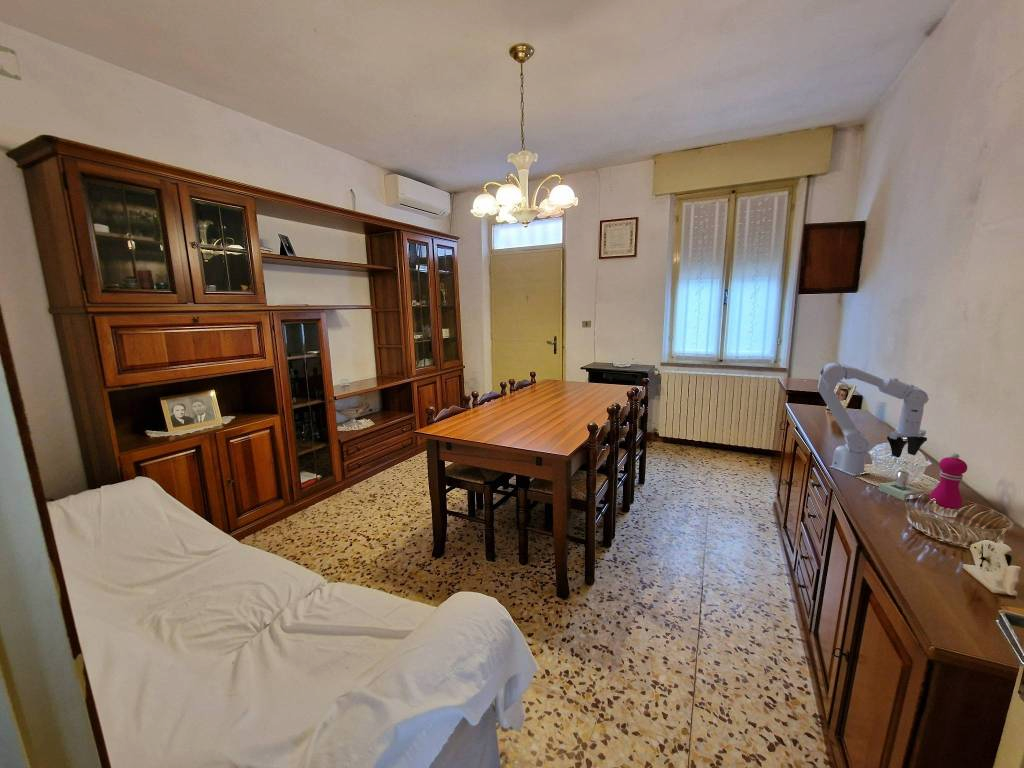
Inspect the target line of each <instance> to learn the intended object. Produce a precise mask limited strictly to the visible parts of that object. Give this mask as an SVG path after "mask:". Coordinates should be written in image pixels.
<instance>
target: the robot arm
mask: <svg viewBox="0 0 1024 768" xmlns="http://www.w3.org/2000/svg"><path fill="white" fill-rule="evenodd" d="M821 368H822V369H820V372H819V379H818V384H817V390H818V392H819V394H820V396H821V398H822V400H823V401H824V403H825V404H826V406H827V408H828V409H829V411H830V412H831V414H832V416H833V418H834V420H835V422H836V423H837V425H838V426H839V428H840V430H841V432H842V433H843V434H844V437H843V438H844V441H845V444H844V445H838V446H837V447H836V448H835V449H834V451H833V457H832V464H831V465H830V468H832V469H835V470H838V471H840V472H843V473H845V474H847V475H849V476H853V477H856V475H857V476H860V475H859V474H860V473H863V472H864V471H865V465H866V459H867V452H868V449H869V447H870V443H869V441H868V440H867V438H866V437H865V435H864V434H863V432H862V431H860V430H859V429H858V428H857V427H856V425H855V423H854V421H852V419H851V417H850V416H849V413H848V412H847V410H846V409H845V407H844V405H843V404H842V402H841V400H840V398H839V397H838V395H837V393H836V391H835V388H836V387H837V385H838V383H839V382H841V381H842V380H843V379H845V380H851V379H855V380H858V381H861V382H864V383H866V384H869V385H872V386H875V387H878V388H877V389H878V390H879V392H881V393H883V394H886V395H888V396H891V397H893V398H897V399H898V400H903V402H902V406H901V410H900V416H899V421H898V427H897V429H896V430H894V431H893V432H889V435H888V436H886V440H887V441H888V443H889V446H890V449H891V451H890V452H891V456H892V457H894V458H901V456H902V452H903V449H904V448H905V446H906V445H907V454H908V455H911V456H916V455H917V453H918V452H919V450H920V448H921V446H923V444H924V443H925V442H926V441H928V437H926V434H927V431H926V430H923V429H921V425H922V420H923V416H924V408H925V404H927V403H928V401H929V395H928V393H927V392H925V391H924V390H923V389H921V388H919V387H918V386H915V385H914V384H911V383H910V384H907V383H905V382H902V381H900V380H899V379H898V378H896V377H893V378H892V377H886V378H881V377H878V376H877V375H876V376H875V375H874V374H872V373H869V372H866V371H863V370H861V369H859V368H857V367H854V366H850V365H847V364H842V363H841V364H840V363H839V362H836V361H830V362H827V363H825V364H824V365H823V366H822V367H821ZM903 438H906V440H904V439H903Z"/></svg>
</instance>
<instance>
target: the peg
mask: <svg viewBox="0 0 1024 768" xmlns="http://www.w3.org/2000/svg"><path fill="white" fill-rule="evenodd" d="M909 475H910V473H909V472H907V471H905V470H898V471H897V473H896V480H895V481H896V484H895V488H897V489H900V490H902V491H904V490H906V487H907V485H908V482H909V481H908V479H909V477H910V476H909Z"/></svg>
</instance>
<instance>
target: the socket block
mask: <svg viewBox="0 0 1024 768" xmlns="http://www.w3.org/2000/svg"><path fill="white" fill-rule="evenodd" d="M895 484H896V480H894V481H889V482H882V483H879V484H878V489H877V490H878V491H879V490H880V492H881V491H883V492H882V493H884V492H885V493H884V494H886V493H887V494H886V495H889V496H891V495H892V496H891V497H893V496H894V498H896V499H899V500H901V501H903V502H905V501H907V500H906V498H907V497H908V496H909V495H916V494H922V495H923V493H924V490H921V489H919V488H916V487H913V486H912V485H911V486H910V485H908V484H907V487H906V490H904V491H902V490H900V489H897V488H895Z"/></svg>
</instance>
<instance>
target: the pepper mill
mask: <svg viewBox="0 0 1024 768" xmlns="http://www.w3.org/2000/svg"><path fill="white" fill-rule="evenodd" d="M938 466H939V468H940V470H939V476H940V479H939V480H940V481H939V482H938V484H937V485H936V487H935V488H934V489H933V490H931V492H930V494H929V500H930V499H933V498H935V499H936V500H935V501H936V504H938V505H939V506H941V507H944V508H950V509H956V508H958V509H960V508H961V507H963V497H962V494H961V492H960V482H961V481H962V480H963V477H964V475H963V474H965V473H966V472H967V471H968V465H967V462H965V461H964V460H962V459H960V455H959V453H955V452H954V453H951V455H950V456H948V457H947V456H946V457H944V458H942V459H940V461H939V463H938Z"/></svg>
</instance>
